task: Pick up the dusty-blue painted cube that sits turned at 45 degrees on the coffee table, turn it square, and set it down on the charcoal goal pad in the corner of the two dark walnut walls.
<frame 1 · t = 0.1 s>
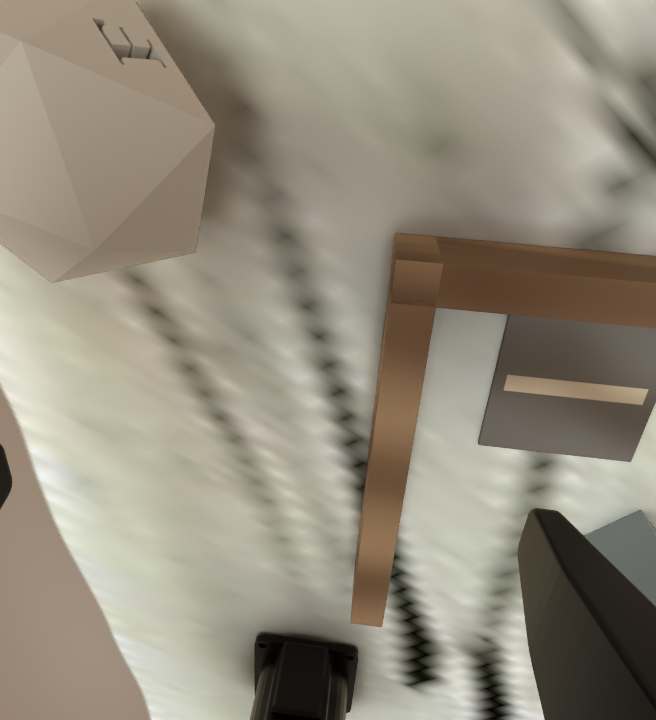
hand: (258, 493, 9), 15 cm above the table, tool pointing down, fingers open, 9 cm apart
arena: (573, 387, 24), on the table
cube: (617, 559, 28), on the table
die: (137, 134, 21), on the table
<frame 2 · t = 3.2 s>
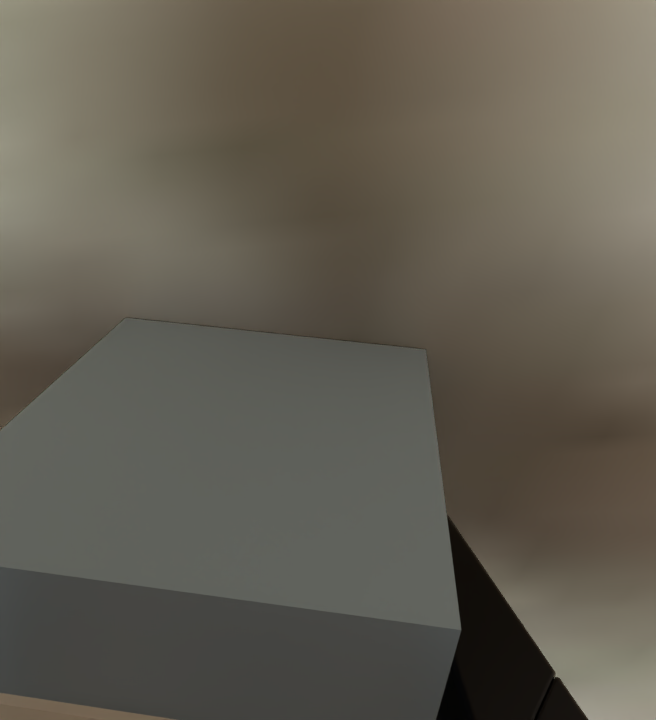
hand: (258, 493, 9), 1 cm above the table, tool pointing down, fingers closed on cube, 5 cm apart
cube: (270, 454, 10), on the table, touching gripper
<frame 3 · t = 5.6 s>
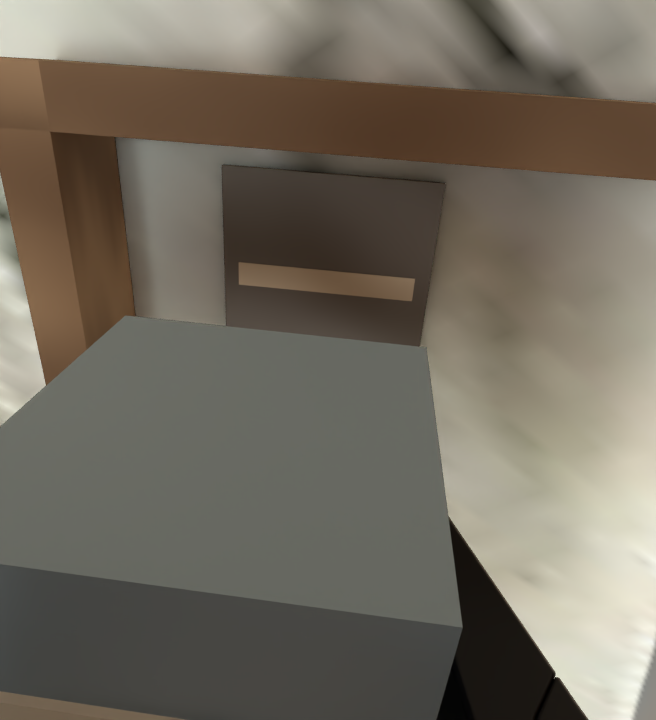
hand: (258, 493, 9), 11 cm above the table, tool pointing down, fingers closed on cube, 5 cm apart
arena: (325, 279, 18), on the table
cube: (270, 453, 10), point 10 cm above the table, touching gripper
when the fingers open (3 cm above the table, at t = 7.8 s): cube drops 1 cm, resting on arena.
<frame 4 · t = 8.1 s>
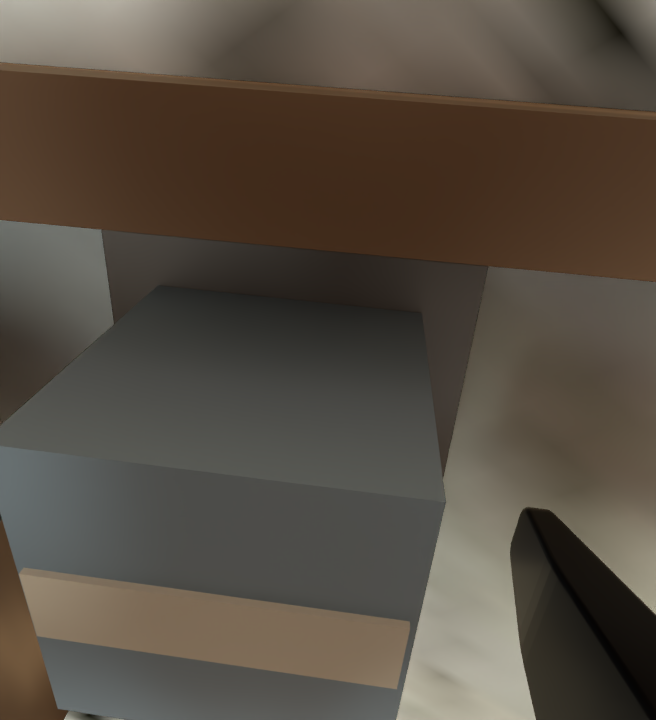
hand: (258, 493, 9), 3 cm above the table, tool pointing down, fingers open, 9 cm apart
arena: (286, 406, 11), on the table
cube: (283, 410, 11), resting on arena
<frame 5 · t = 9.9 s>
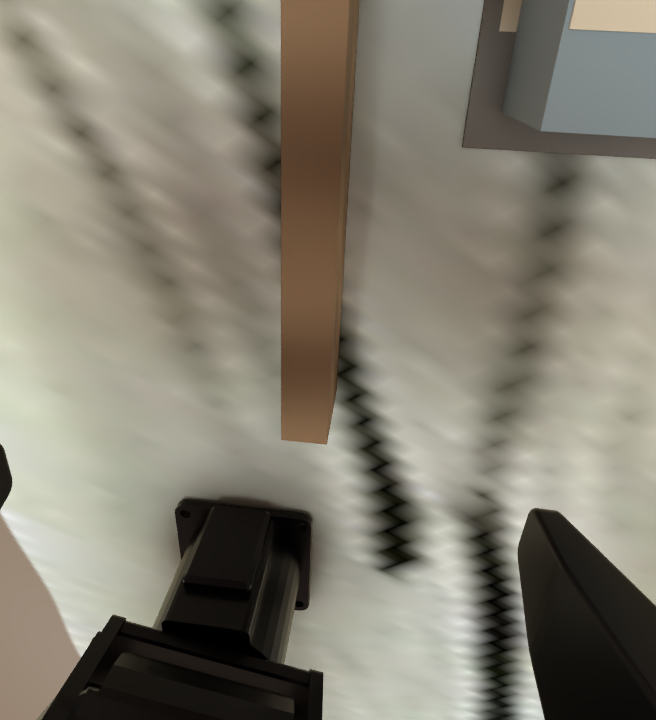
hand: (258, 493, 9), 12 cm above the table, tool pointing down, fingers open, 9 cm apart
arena: (610, 19, 15), on the table
cube: (613, 17, 15), resting on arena
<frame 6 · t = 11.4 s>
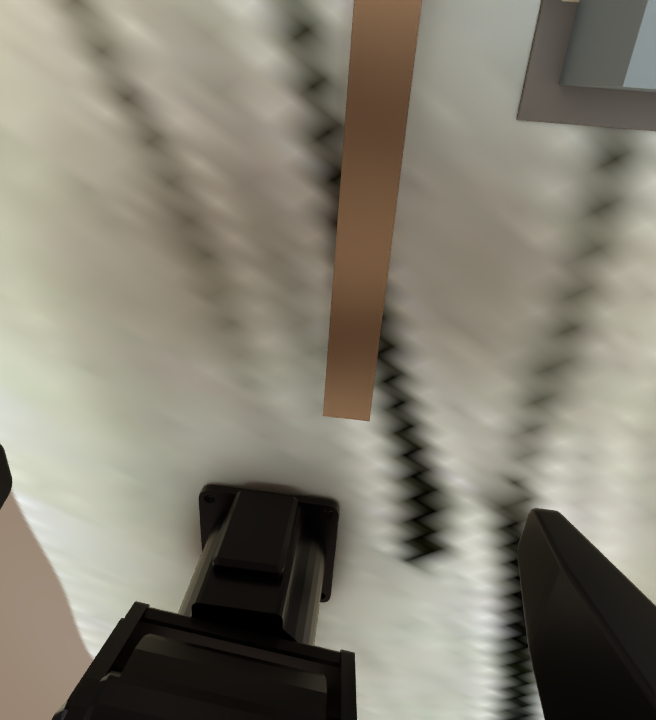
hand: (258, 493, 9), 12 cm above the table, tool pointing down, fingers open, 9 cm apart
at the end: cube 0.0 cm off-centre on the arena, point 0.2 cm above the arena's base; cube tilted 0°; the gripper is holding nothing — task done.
